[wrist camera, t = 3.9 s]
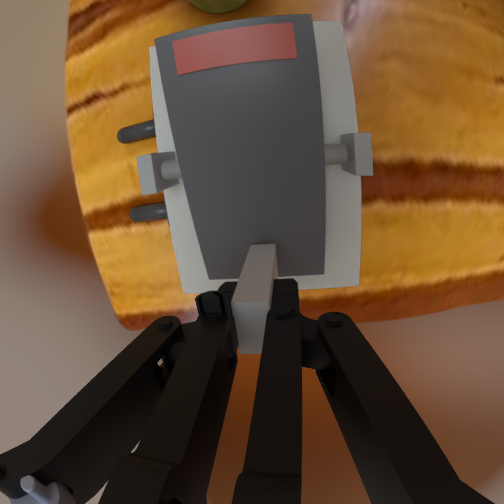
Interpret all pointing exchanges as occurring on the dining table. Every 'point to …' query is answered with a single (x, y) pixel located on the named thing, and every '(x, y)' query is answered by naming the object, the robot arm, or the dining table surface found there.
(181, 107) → the rocker
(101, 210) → the dining table surface
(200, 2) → the plant pot
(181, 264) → the switch box
